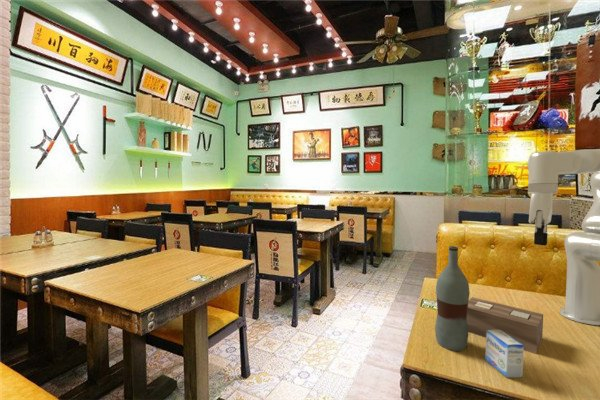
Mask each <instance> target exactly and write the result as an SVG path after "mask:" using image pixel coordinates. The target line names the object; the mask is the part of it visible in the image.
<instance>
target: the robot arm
mask: <svg viewBox="0 0 600 400" xmlns="http://www.w3.org/2000/svg"><path fill="white" fill-rule="evenodd" d="M526 165H527V166H526V167H527V170H528V182H527V183H528V185H527V187H528V188H527V194H529V195H530V201H529V214H528V223H529V224H533V223H534V232H533V233H534V236H533V237H534V238H533V239H534V240H533V244H534V245H536V246H537V245H538V246H547V245H548V235H549V234H548V224H550V223H551V221H552V215H553V201H554V200H553V196H554V195H558V192H559V175H580V174H582V175H583V174H591V176H590V179H589V184H590V189H591V193H592V198H593V203H592V204H591V207H590V208H589V210H588V211H587V213H586V215H585V216H584V218H583V221H581V229H582V231H573V232H571V233H569V234H568V235H566V237H565V238H564V250H565V255H566V284H565V285H566V287H565V307H562V308H560V309H559V314H560V315H561V316H562V317H564V318H566V319H568V320H572V321H575V322H577V323H580V324H587V325H593V326H600V264H599V263H598V262H600V148H596V149H595V148H593V149H592V148H591V149H590V148H589V149H587V148H586V149H576V150H570V151H569V150H568V151H567V150H565V151H554V150H544V151H543V150H541V151H534V152H532V153H531V154H530V155H529V158H528V160H527V162H526Z"/></svg>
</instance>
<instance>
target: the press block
mask: <svg viewBox="0 0 600 400" xmlns="http://www.w3.org/2000/svg"><path fill="white" fill-rule="evenodd" d="M477 302H482V303H486V304H490V305H493V307H492V308H491V310H488V309H485V308H481V307H477V306H474V305H475V304H476V303H477ZM513 310H514V311H518V312H522V313H526V314H530V318H529V320H527V319H523V318H519V317H515V316H511V315H510V314H511V312H512V311H513ZM467 325H468V333H470V334H474V335H476V336H477V335H478V336H480V337H483V338H486V333H487V330H501V331H503V332H504V333H506V334H507V335H509V336H510V337H512V338H513V339H515V340H516V341H518V342H520V343H521V344H523V345H524V351H527V352H530V353H533V354H537V353H538V350H539V348H540V345H541V343H542V340H543V337H544V336H543V332H544V313H540V312H536V311H532V310H528V309H524V308H519V307H515V306H511V305H507V304H503V303H499V302H495V301H490V300H486V299H482V298H479V297H474V296H472V297H471V298H469V300H468V309H467Z"/></svg>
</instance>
